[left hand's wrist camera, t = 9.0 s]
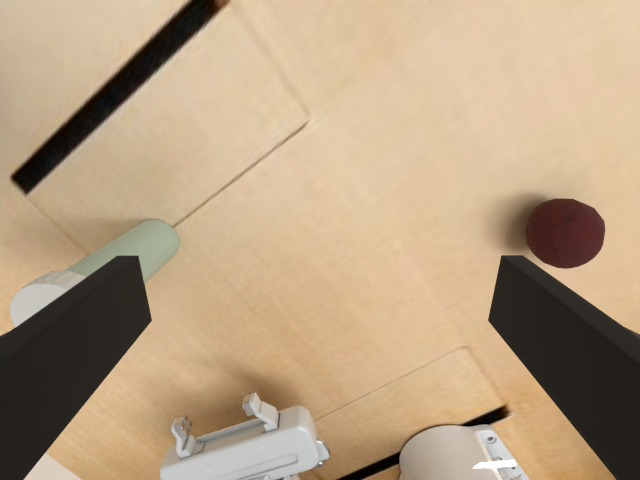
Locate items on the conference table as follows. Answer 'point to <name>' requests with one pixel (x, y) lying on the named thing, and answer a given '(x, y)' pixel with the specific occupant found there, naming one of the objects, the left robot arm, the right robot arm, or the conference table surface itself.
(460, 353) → the conference table surface
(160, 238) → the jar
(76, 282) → the lid
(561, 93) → the conference table surface
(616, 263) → the conference table surface
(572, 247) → the dark red ball
